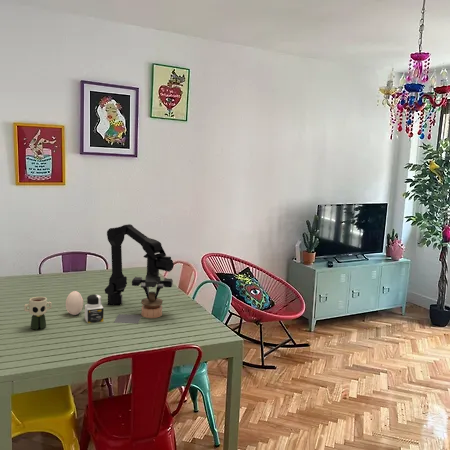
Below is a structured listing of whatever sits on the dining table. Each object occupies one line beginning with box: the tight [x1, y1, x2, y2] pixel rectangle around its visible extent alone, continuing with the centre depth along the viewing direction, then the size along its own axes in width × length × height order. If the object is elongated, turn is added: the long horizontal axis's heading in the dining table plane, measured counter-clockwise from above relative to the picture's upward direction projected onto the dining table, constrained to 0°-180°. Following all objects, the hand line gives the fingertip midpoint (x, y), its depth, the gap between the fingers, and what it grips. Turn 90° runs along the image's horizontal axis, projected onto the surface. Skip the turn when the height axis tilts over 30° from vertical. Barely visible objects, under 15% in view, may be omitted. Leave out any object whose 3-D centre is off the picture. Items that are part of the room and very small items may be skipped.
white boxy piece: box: [84, 294, 105, 324], centre depth 208 cm, size 7×7×12 cm
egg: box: [65, 290, 84, 316], centre depth 215 cm, size 8×8×11 cm
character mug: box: [23, 296, 53, 330], centre depth 197 cm, size 11×7×13 cm, turn 119°
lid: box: [141, 291, 164, 306], centre depth 218 cm, size 10×10×5 cm
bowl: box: [140, 304, 163, 319], centre depth 219 cm, size 10×10×4 cm
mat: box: [113, 313, 143, 325], centre depth 212 cm, size 11×11×1 cm
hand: (152, 299), depth 218 cm, fingers closed on lid, 3 cm apart
